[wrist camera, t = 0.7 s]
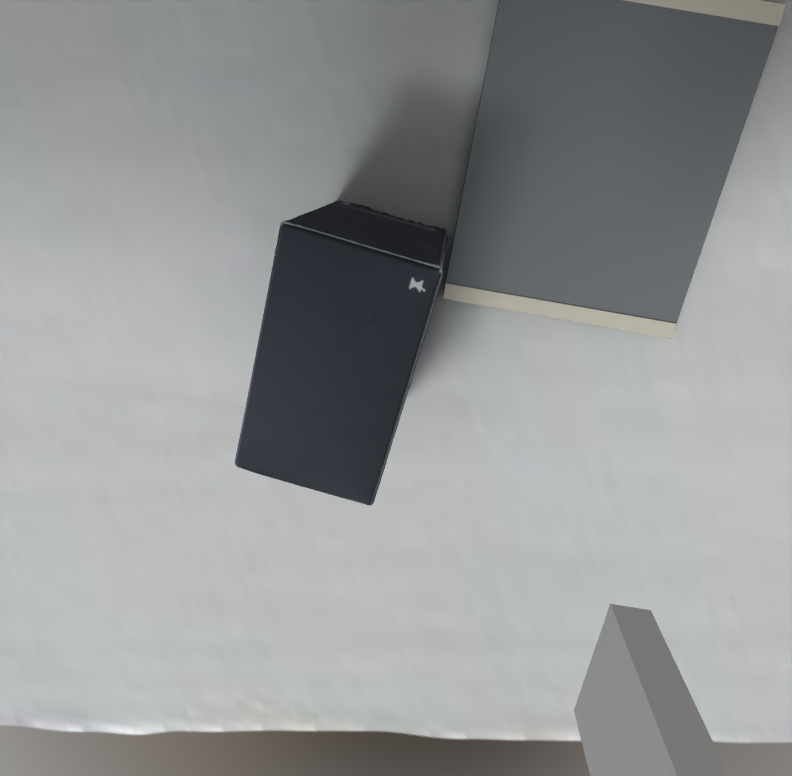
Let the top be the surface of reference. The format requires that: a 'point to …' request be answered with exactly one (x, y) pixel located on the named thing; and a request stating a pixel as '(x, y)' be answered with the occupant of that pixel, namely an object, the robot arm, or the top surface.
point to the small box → (339, 347)
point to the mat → (604, 154)
